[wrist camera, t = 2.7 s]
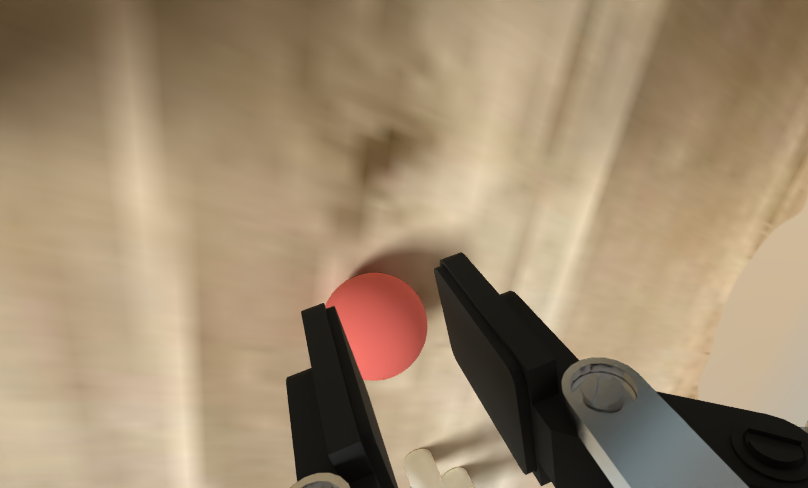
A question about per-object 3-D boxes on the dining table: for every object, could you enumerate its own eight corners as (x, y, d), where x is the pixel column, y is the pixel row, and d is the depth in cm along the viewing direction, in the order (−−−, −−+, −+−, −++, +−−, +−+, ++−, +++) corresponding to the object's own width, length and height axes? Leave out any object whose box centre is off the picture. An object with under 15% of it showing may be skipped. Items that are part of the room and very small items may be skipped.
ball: (300, 275, 27) (314, 338, 22) (397, 240, 28) (431, 294, 23) (331, 349, 30) (349, 420, 25) (417, 316, 31) (451, 378, 26)
